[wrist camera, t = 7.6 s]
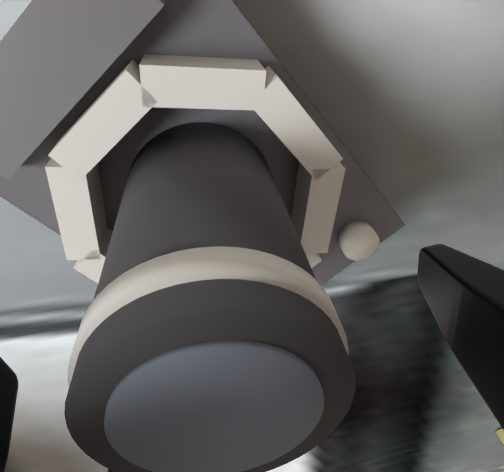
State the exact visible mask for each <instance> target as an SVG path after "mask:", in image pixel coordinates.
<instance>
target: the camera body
mask: <svg viewBox="0 0 504 472" xmlns="http://www.w3.org/2000/svg"><path fill="white" fill-rule="evenodd" d="M198 122H204V123H214V124H218V125H222V126H225V127H228V128H230V129H233V130H235V131H237V132H239V133H241V134H242V135H243V136H245V137H246V138H248V139H249V140H250V141H251V142H252V143H253V144H254V145H255V146H256V147H257V148H258V149H259V150H260V152H261V153H262V155H263V156H264V158H265V160H266V162H267V164H268V166H269V169H270V171H271V173H272V176H273V178H274V181H275V183H276V185H277V188H278V190H279V192H280V195H281V197H282V200H283V202H284V204H285V207H286V209H287V211H288V214H289V216H290V218H291V221H292V223H293V226H294V228H295V230H296V233H297V235H298V237H299V240H300V242H301V245H302V247H303V249H304V252H305V254H306V256H307V259H308V261H309V264H310V266H311V268H312V271H313V273H314V275H315V278H316V280H317V282H318V283H319V284H320V285H322V284H323V283H324V282H326V281H327V280H329V279H330V278H331V277H333V276H334V275H336V274H337V273H338V272H340V271H341V270H343V269H344V268H345V267H347V266H348V265H350V264H351V263H352V262H354V261H355V260H363V259H366V258H368V257H370V256H371V255H372V254H373V253H374V252H375V251H376V250H377V248H378V246H379V243H380V242H382V241H383V240H385V239H386V238H387V237H389V236H390V235H392V234H393V233H394V232H396V231H397V230H399V229H400V228H401V227H403V226H404V225H405V224H404V223H403V221H402V220H401V219H400V218H399V216H398V215H397V214H396V212H395V211H394V210H393V209H392V207H391V206H390V205H389V203H388V202H387V201H386V199H385V198H384V197H383V196H382V194H381V193H380V192H379V190H378V189H377V188H376V187H375V185H374V184H373V183H372V181H371V180H370V179H369V177H368V176H367V175H366V174H365V172H364V171H363V170H362V168H361V167H360V166H359V165H358V163H357V162H356V161H355V159H354V158H353V157H352V155H351V154H350V153H349V152H348V150H347V149H346V148H345V146H344V145H343V144H342V143H341V141H340V140H339V139H338V137H337V136H336V135H335V133H334V132H333V131H332V130H331V128H330V127H329V126H328V124H327V123H326V122H325V121H324V119H323V118H322V117H321V115H320V114H319V113H318V111H317V110H316V109H315V108H314V106H313V105H312V104H311V102H310V101H309V100H308V99H307V97H306V96H305V95H304V93H303V92H302V91H301V89H300V88H299V87H298V86H297V84H296V83H295V82H294V80H293V79H292V78H291V76H290V75H289V74H288V73H287V71H286V70H285V69H284V67H283V66H282V65H281V64H280V62H279V61H278V60H277V58H276V57H275V56H274V54H273V53H272V52H271V51H270V49H269V48H268V47H267V45H266V44H265V43H264V42H263V40H262V39H261V38H260V36H259V35H258V34H257V32H256V31H255V30H254V29H253V27H252V26H251V25H250V23H249V22H248V21H247V20H246V18H245V17H244V16H243V14H242V13H241V12H240V10H239V9H238V8H237V7H236V5H235V4H234V3H233V1H232V0H32V1H31V3H30V4H29V5H28V6H27V8H26V9H25V10H24V12H23V13H22V14H21V16H20V17H19V18H18V19H17V21H16V22H15V23H14V25H13V26H12V27H11V28H10V30H9V31H8V32H7V34H6V35H5V36H4V38H3V39H2V40H1V41H0V196H1V197H2V198H4V199H5V200H7V201H8V202H10V203H11V204H13V205H14V206H16V207H18V208H19V209H21V210H22V211H24V212H25V213H27V214H28V215H30V216H31V217H33V218H35V219H36V220H38V221H39V222H41V223H42V224H44V225H45V226H47V227H48V228H50V229H52V230H53V231H55V232H56V233H58V234H59V235H61V238H62V242H63V246H64V251H65V255H66V259H67V260H76V263H75V265H74V269H75V270H77V271H79V272H80V273H82V274H83V275H85V276H87V277H88V278H90V279H92V280H93V281H95V282H97V283H99V279H100V276H101V272H102V268H103V265H104V261H105V258H106V254H107V251H108V247H109V243H110V240H111V236H112V233H113V229H114V225H115V222H116V218H117V215H118V211H119V208H120V204H121V200H122V197H123V193H124V190H125V186H126V182H127V179H128V175H129V172H130V168H131V165H132V163H133V161H134V159H135V157H136V156H137V154H138V153H139V151H140V150H141V149H142V148H143V146H144V145H145V144H146V143H147V142H148V141H150V140H151V139H152V138H153V137H154V136H156V135H158V134H159V133H161V132H162V131H165V130H167V129H169V128H171V127H174V126H178V125H181V124H187V123H198Z"/></svg>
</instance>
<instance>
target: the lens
mask: <svg viewBox="0 0 504 472" xmlns="http://www.w3.org/2000/svg"><path fill="white" fill-rule="evenodd" d="M348 351H349V349H348V343H347V337H346V335H345V332H344V330H343V327H342V325H341V322H340V320H339V318H338V316H337V313H336V311H335V309H334V306H333V304H332V302H331V300H330V298H329V296H328V295H327V293H326V291H325V290H324V288H323V287H322V286H321V285H320V284H319V283H318V282H317V280H316V278H315V275H314V273H313V271H312V268H311V266H310V264H309V261H308V259H307V256H306V254H305V252H304V249H303V247H302V245H301V242H300V240H299V237H298V235H297V233H296V230H295V228H294V226H293V223H292V221H291V218H290V216H289V214H288V211H287V209H286V207H285V204H284V202H283V200H282V197H281V195H280V192H279V190H278V188H277V185H276V183H275V181H274V178H273V176H272V173H271V171H270V169H269V166H268V164H267V162H266V160H265V158H264V156H263V155H262V153H261V152H260V150H259V149H258V148H257V147H256V146H255V145H254V144H253V143H252V142H251V141H250V140H249V139H248V138H246V137H245V136H243V135H242V134H241V133H239V132H237V131H235V130H233V129H230V128H228V127H225V126H222V125H218V124H214V123H204V122H198V123H187V124H181V125H178V126H174V127H171V128H169V129H167V130H165V131H162V132H161V133H159V134H158V135H156V136H154V137H153V138H152V139H151V140H150V141H148V142H147V143H146V144H145V145H144V146H143V148H142V149H141V150H140V151H139V153H138V154H137V156H136V157H135V159H134V161H133V163H132V165H131V168H130V172H129V175H128V179H127V182H126V186H125V190H124V193H123V197H122V200H121V204H120V208H119V211H118V215H117V218H116V222H115V225H114V229H113V233H112V236H111V240H110V243H109V247H108V251H107V254H106V258H105V261H104V265H103V268H102V272H101V276H100V279H99V283H98V286H97V290H96V294H95V297H94V301H93V302H92V303H91V305H90V306H89V307H88V309H87V311H86V313H85V315H84V317H83V319H82V322H81V325H80V328H79V332H78V335H77V338H76V342H75V345H74V348H73V352H72V355H71V359H70V363H69V369H68V382H69V390H68V394H67V398H66V401H65V419H66V424H67V427H68V430H69V432H70V434H71V436H72V438H73V439H74V441H75V442H76V444H77V445H78V446H79V447H80V448H81V449H82V450H83V451H84V452H85V453H86V454H87V455H88V456H89V457H91V458H92V459H94V460H95V461H96V462H98V463H99V464H101V465H103V466H105V467H107V468H109V469H111V470H113V471H116V472H266V471H269V470H272V469H274V468H277V467H279V466H281V465H284V464H286V463H288V462H290V461H292V460H294V459H296V458H298V457H300V456H302V455H303V454H305V453H307V452H308V451H310V450H311V449H313V448H314V447H316V446H317V445H318V444H320V443H321V442H322V441H324V440H325V439H326V438H327V437H328V436H329V435H330V434H331V433H332V432H333V431H334V430H335V429H336V428H337V427H338V426H339V424H340V423H341V422H342V420H343V419H344V417H345V416H346V414H347V413H348V411H349V409H350V407H351V404H352V402H353V398H354V394H355V387H356V379H355V372H354V368H353V366H352V363H351V361H350V358H349V356H348Z"/></svg>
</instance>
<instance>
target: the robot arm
mask: <svg viewBox="0 0 504 472" xmlns="http://www.w3.org/2000/svg"><path fill="white" fill-rule="evenodd" d="M418 284H419V287H420V289H421V291H422V293H423V295H424V297H425V299H426V301H427V303H428V305H429V307H430V309H431V311H432V313H433V315H434V317H435V319H436V321H437V323H438V325H439V327H440V329H441V331H442V333H443V335H444V336H445V338H446V340H447V342H448V344H449V346H450V348H451V350H452V351H453V353H454V355H455V356H456V358H457V359H458V361H459V363H460V364H461V366H462V367H463V369H464V370H465V372H466V373H467V375H468V376H469V378H470V379H471V381H472V382H473V384H474V385H475V387H476V389H477V390H478V392H479V393H480V395H481V396H482V398H483V399H484V401H485V402H486V404H487V405H488V407H489V408H490V410H491V411H492V413H493V414H494V416H495V418H496V419H497V421H498V422H499V424H500V425H501V427H502V428H503V430H504V270H502V269H500V268H497V267H495V266H492V265H490V264H488V263H485V262H483V261H481V260H478V259H476V258H474V257H471V256H469V255H467V254H464V253H462V252H460V251H457V250H455V249H453V248H450V247H448V246H446V245H443V244H436V245H432V246H428V247H424V248H422V249H421V250H420V253H419V263H418ZM17 391H18V379H17V376H16V374H15V373H14V372H13V371H12V369H11V368H10V367H9V366H8V365H7V364H6V363H5V362H4V360H3V359H2V358H1V357H0V472H5V467H6V463H7V458H8V452H9V446H10V440H11V433H12V426H13V419H14V412H15V405H16V398H17ZM108 472H116V471H113V470H111V469H109V468H108Z"/></svg>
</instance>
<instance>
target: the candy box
mask: <svg viewBox="0 0 504 472" xmlns="http://www.w3.org/2000/svg"><path fill="white" fill-rule="evenodd" d="M496 433H497V435H498V437H499V438H500V440H501V442H502V443H503V445H504V430H503V428H502V429H499V430H497V431H496Z"/></svg>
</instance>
